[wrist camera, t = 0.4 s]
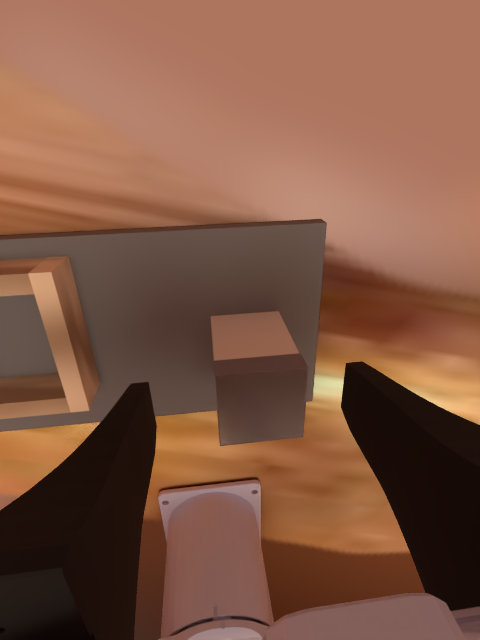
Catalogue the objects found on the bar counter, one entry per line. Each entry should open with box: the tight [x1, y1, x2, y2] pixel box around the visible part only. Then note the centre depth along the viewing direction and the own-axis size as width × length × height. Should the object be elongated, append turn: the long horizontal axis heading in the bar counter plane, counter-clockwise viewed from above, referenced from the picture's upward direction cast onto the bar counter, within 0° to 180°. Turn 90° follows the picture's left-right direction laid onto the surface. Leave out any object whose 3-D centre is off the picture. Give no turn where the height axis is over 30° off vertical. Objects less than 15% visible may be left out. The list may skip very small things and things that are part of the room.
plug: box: [211, 311, 308, 446], centre depth 19 cm, size 4×4×6 cm
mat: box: [0, 219, 327, 432], centre depth 21 cm, size 12×22×1 cm, turn 92°
